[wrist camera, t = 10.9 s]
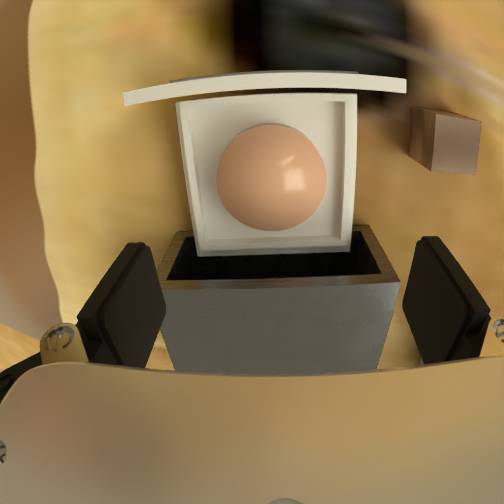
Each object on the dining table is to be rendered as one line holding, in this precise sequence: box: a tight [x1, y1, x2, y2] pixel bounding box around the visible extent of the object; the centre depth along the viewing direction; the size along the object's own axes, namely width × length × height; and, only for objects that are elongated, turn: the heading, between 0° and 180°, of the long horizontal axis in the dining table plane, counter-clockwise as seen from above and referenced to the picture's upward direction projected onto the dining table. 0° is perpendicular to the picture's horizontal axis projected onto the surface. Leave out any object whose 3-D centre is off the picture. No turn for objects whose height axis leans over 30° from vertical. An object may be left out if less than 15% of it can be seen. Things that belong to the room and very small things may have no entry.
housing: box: [157, 225, 400, 374], centre depth 26 cm, size 14×16×8 cm
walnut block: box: [409, 107, 481, 175], centre depth 19 cm, size 4×4×4 cm
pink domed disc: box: [216, 123, 327, 231], centre depth 21 cm, size 7×7×2 cm
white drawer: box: [123, 70, 406, 257], centre depth 20 cm, size 14×15×6 cm
